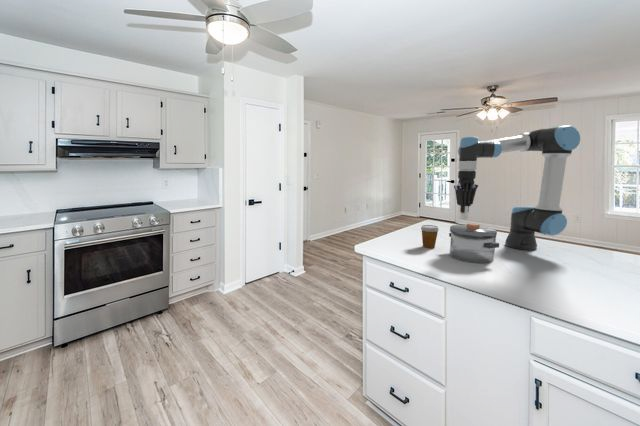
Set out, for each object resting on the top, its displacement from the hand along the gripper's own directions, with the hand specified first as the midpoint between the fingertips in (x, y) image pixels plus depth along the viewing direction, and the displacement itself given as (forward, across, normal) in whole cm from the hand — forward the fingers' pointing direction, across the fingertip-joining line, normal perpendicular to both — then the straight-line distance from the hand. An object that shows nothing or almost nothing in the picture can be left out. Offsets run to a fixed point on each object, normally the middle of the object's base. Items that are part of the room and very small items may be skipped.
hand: (463, 219), depth 146 cm
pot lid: (+7, -6, 0) cm, 10 cm away
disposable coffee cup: (+20, +2, -22) cm, 30 cm away
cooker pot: (+20, -6, 0) cm, 21 cm away
